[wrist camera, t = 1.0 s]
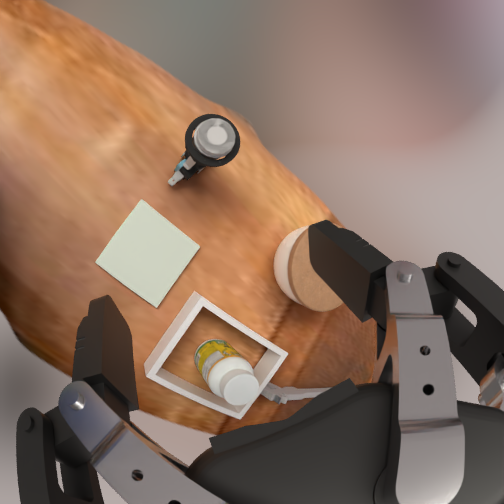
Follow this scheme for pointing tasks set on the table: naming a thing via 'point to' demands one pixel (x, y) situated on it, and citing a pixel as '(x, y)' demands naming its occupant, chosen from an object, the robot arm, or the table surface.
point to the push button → (207, 145)
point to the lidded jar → (302, 274)
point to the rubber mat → (147, 253)
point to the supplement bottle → (226, 372)
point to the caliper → (289, 393)
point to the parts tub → (179, 385)
